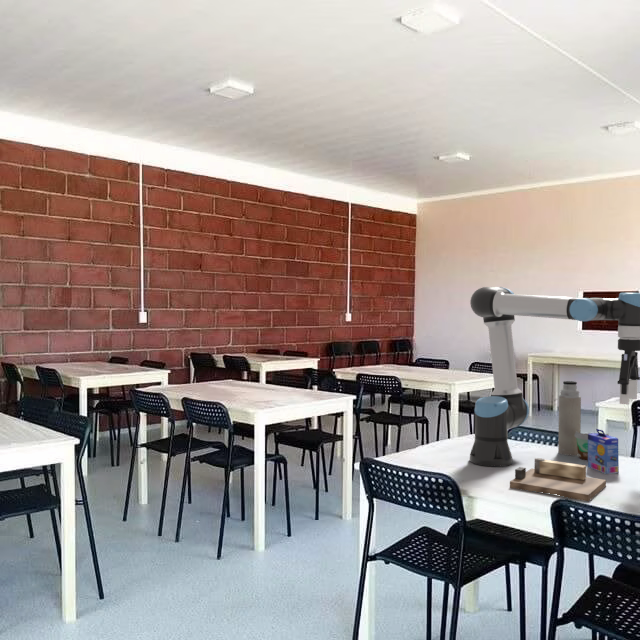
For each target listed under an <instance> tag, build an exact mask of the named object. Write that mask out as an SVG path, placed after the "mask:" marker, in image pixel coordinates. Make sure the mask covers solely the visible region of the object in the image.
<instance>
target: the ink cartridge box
mask: <svg viewBox="0 0 640 640" xmlns="http://www.w3.org/2000/svg"><path fill="white" fill-rule="evenodd" d="M595 431H596V432H595V433H593V432H590V433H591V434H588V433H587V434H588V461H587V468H588V469H591V470H593V471H597V472H600V473H601V474H605V475H609V474H610V475H613V474H618V473H620V471H619V467H620V466H619V465H620V464H619V462H620V461H619V438H618V437H615V436H611V435H609V436H607V435H606V434H607V433H605V431H604V430H602V429H598V428H595Z"/></svg>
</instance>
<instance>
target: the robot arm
mask: <svg viewBox="0 0 640 640" xmlns="http://www.w3.org/2000/svg"><path fill="white" fill-rule="evenodd" d="M469 302H470V308H471V310H472V311H473V313H474V314H475V315H476V316H478V317H481V318H483V325H485V326H486V327H487V329H488V336H489V337H488V338H489V348H490V355H491V356H490V357H491V367H492V374H493V375H492V376H493V386H494V387H493V388H494V389H493V391H492V392H491V393H490V395H489V396H483V397H479V398H478V399H477V400H476V401H475V405H474V442H473V445H472V447H471V451H470V453H469V461H470V463H472V464H474V465H479V466H484V467H507V466H510V465H511V466H512V464H513V455H512V452H511V449H510V446H509V443H508V430H509V429H515V428H517V427H520V426H522V425H523V424H525V422H526V421H527V420H528V417H529V415H530V406H529V404H528V402H527V401H526V400H525V399H524V397H523V396H524V394H523V391H522V390H521V389H520V388H519V386H518V377H517V367H516V360H515V359H516V358H515V351H514V350H515V349H514V340H513V331H512V324H513V323H514V322H515V321H516V319H515V316H519V317H521V316H522V317H531V318H532V317H533V318H546V319H547V318H548V319H560V320H572V321H578V322H591V321H618V324H617V325H618V327H617V337H618V339H617V349H618V350H619V351H624V353H621V355H620V356H621V362H620V369H619V377H618V380H617V385H619V404H620V405H627V406H628V405H629V404H630V399H631V400H637V399H638V381H640V375H639V363H638V362H639V361H638V360H639V359H638V355H639V354H638V353H639V352H640V292H620V293H619V294H618V297H616V298H610V297H609V298H607V297H606V298H605V297H603V298H602V297H590V298H589V297H572V296H553V295H552V296H551V295H533V294H519V293H518V294H515V293H514V291H512V290H511V289H509V288H507V287H502V286H494V287H493V286H491V287H490V286H482V287H480V288H478V289H476V290H475V291H474V292H473V294H472V295H471V297H470V301H469Z"/></svg>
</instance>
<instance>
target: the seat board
mask: <svg viewBox="0 0 640 640" xmlns="http://www.w3.org/2000/svg"><path fill="white" fill-rule="evenodd" d="M526 469H527V468H526V467H523V466H519V467H517V468H515V470H514V473H515V474H514V478H513V479H512V480H510V481H509V488H511V489H515V488H516V490H520V489H522V490H521V491H526V490H528V491H527V492H532V491H536V492H535V493H537V492H543V493H550V494H557V495H560V496H564V497H563V498H566V497H568V498H567V499H571V500H572V499H573V500H578V501H583V502H589V501H591V500H593V498H594V497H595V496H596V495H598V494H599V493H600V492H602V490H604V489H605V488H606V487H607V479H602V478H596V477H595V478H594V477H590V476H589V477H588V476H586V478H585V479H584V480H580V479H574V478H568V477H561V476H555V475H549V474H538V473H535V472H534V468H530V469H529V470H526ZM543 493H542V494H543ZM560 496H559V497H560Z"/></svg>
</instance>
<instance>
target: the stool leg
mask: <svg viewBox="0 0 640 640" xmlns="http://www.w3.org/2000/svg"><path fill="white" fill-rule="evenodd" d="M533 467H534V468H533V469H534V472H535V473H538V474H549V475H555V476H561V477H568V478H574V479H580V480H584V479H585V478H586V477H587V465H584V464H583V465H582V464H578V463H571V462H564V461H556V460H550V459H545V458H539V457H535V458H534V466H533Z"/></svg>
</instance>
